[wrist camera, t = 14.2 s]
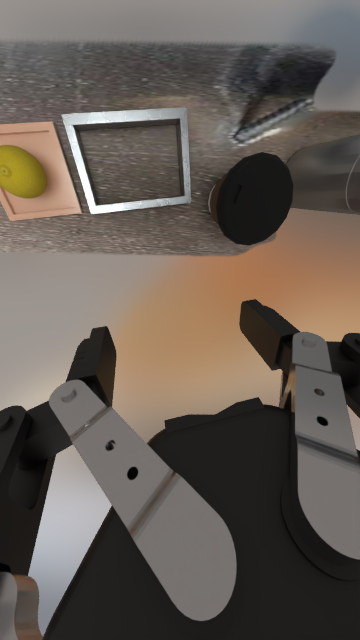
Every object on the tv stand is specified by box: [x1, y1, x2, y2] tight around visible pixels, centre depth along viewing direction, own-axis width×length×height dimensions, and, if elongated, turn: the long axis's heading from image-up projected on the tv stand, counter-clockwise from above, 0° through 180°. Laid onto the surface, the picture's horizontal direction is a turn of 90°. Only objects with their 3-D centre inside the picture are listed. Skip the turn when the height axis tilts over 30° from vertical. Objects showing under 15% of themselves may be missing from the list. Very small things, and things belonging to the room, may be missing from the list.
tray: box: [0, 122, 83, 221], centre depth 29 cm, size 11×11×1 cm
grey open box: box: [61, 107, 191, 214], centre depth 30 cm, size 16×11×3 cm
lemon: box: [0, 145, 47, 199], centre depth 26 cm, size 6×6×8 cm
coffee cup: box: [208, 152, 294, 245], centre depth 31 cm, size 11×11×12 cm
